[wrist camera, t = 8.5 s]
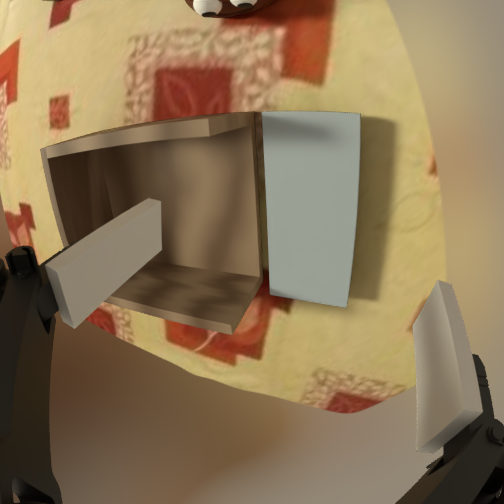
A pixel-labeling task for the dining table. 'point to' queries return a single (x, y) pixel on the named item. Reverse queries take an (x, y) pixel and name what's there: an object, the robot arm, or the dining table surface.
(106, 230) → the robot arm
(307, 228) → the door
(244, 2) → the poop emoji
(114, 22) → the dining table surface
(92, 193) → the box
